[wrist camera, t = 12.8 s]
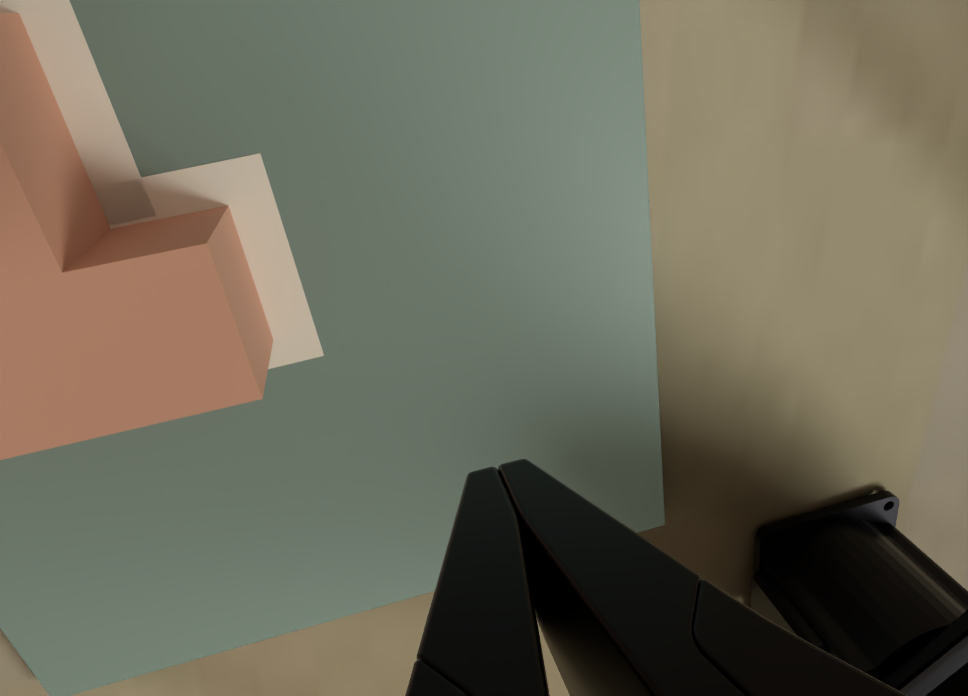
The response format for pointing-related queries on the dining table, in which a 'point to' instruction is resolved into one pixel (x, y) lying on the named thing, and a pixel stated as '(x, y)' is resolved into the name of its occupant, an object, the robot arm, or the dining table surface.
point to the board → (345, 308)
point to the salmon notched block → (107, 290)
